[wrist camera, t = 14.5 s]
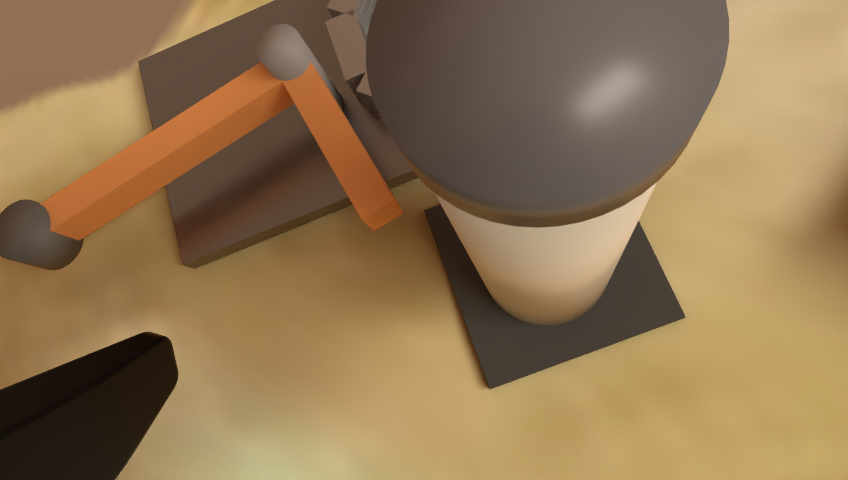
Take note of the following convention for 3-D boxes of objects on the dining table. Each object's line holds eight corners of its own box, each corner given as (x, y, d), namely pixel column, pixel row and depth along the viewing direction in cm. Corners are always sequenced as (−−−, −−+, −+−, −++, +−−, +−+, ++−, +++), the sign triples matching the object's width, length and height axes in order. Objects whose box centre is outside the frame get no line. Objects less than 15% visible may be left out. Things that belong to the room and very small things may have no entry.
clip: (123, 411, 23) (28, 413, 19) (62, 245, 25) (-34, 214, 21) (421, 226, 22) (391, 186, 18) (328, 75, 25) (284, 9, 21)
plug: (506, 349, 21) (430, 257, 8) (459, 227, 23) (325, -30, 9) (638, 300, 21) (803, 110, 7) (581, 179, 22) (630, -167, 9)
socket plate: (194, 268, 25) (154, 253, 22) (149, 70, 28) (110, 38, 25) (615, 97, 23) (622, 60, 21) (517, -94, 26) (514, -145, 24)
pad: (490, 389, 21) (489, 388, 21) (425, 212, 23) (424, 210, 23) (683, 318, 20) (685, 316, 20) (598, 143, 23) (599, 140, 22)
